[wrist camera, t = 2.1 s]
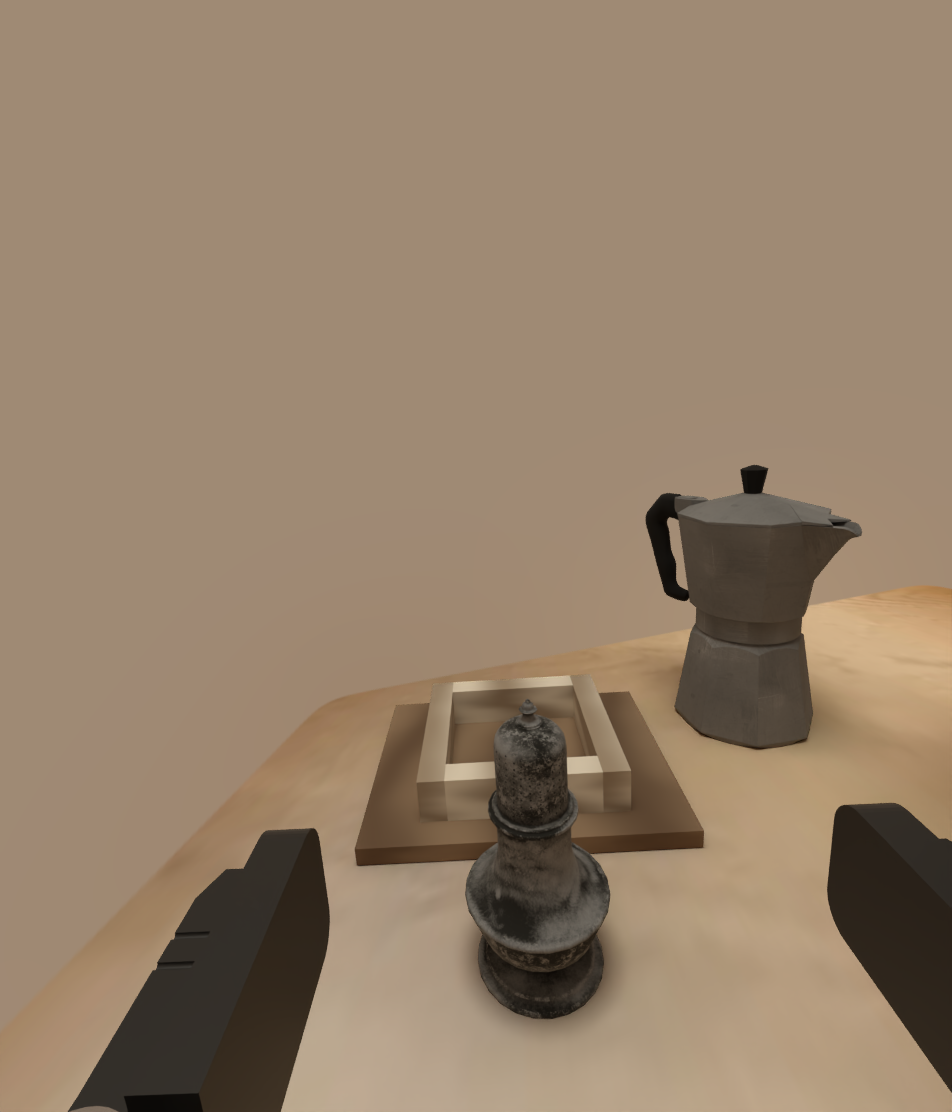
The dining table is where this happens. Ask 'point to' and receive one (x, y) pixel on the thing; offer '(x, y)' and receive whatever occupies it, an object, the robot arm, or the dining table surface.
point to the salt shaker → (536, 879)
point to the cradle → (469, 778)
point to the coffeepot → (746, 606)
